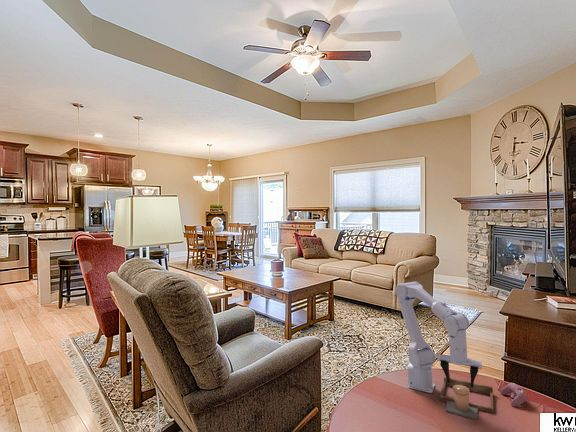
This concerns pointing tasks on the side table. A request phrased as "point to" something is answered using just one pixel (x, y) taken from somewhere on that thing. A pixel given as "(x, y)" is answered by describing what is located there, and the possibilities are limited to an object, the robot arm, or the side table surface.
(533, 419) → the side table surface
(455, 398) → the beige peg
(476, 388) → the frame
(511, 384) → the video game controller
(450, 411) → the rubber mat
